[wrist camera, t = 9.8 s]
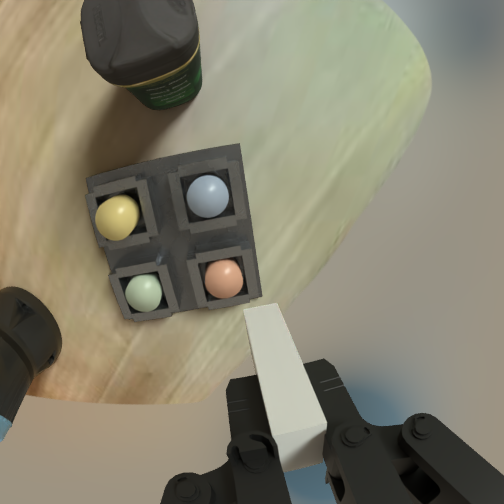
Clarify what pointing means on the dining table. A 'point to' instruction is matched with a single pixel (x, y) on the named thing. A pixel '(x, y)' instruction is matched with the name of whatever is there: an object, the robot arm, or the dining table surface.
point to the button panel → (178, 230)
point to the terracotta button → (223, 277)
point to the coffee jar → (145, 48)
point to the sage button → (144, 291)
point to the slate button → (207, 195)
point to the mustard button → (117, 217)
